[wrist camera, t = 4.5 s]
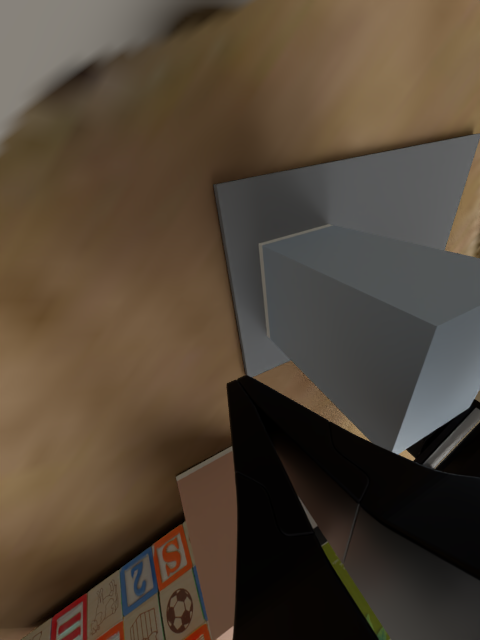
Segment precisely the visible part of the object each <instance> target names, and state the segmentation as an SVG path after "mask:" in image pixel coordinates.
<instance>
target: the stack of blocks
mask: <svg viewBox="0 0 480 640" xmlns="http://www.w3.org/2000/svg"><path fill="white" fill-rule="evenodd" d="M21 640H212V636H211V632H210V627H209V623H208V618H207V614H206V609H205V605H204V600H203V596H202V591H201V587H200V582H199V578H198V574H197V569H196V565H195V560H194V556H193V551H192V547H191V542H190V538H189V533H188V529H187V524H186V521H184V523H183V524H180V525H179V526H177V527H176V528H175V529H173V530H172V531H170V532H169V533H168V534H166V535H165V536H163V537H162V538H161V539H159V540H158V541H157V542H155V543H154V544H153V545H152V546H151V547H149V548H148V549H146V550H145V551H143V552H142V553H141V554H139V555H138V556H137V557H135V558H134V559H132V560H131V561H130V562H128V563H127V564H126V565H124V566H123V567H122V568H121V569H119V570H118V571H116V572H115V573H113V574H112V575H110V576H109V577H108V578H106V579H105V580H104V581H102V582H101V583H99V584H98V585H97V586H95V587H94V588H93V589H91V590H90V591H89V592H88V593H86V594H84V595H83V596H81V597H80V598H78V599H77V600H75V601H74V602H73V603H71V604H70V605H68V606H67V607H66V608H64V609H63V610H61V611H60V612H59V613H57V614H56V615H55V616H54V617H53V618H50V619H49V620H48V621H46V622H45V623H43V624H42V625H41V626H39V627H38V628H36V629H35V630H34V631H32V632H31V633H29V634H28V635H27V636H25V637H24V638H23V639H21Z"/></svg>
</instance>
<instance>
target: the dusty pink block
mask: <svg viewBox="0 0 480 640" xmlns="http://www.w3.org/2000/svg"><path fill="white" fill-rule="evenodd" d="M176 480H177V484H178V489H179V493H180V498H181V502H182V506H183V511H184V515H185V520H186V524H187V529H188V533H189V538H190V542H191V547H192V551H193V556H194V560H195V565H196V569H197V574H198V578H199V582H200V587H201V591H202V596H203V600H204V605H205V609H206V614H207V618H208V623H209V627H210V632H211V636H212V640H233V628H234V614H235V591H236V552H237V498H236V484H235V471H234V461H233V450H232V446H231V447H229V448H227V449H226V450H224V451H222V452H220V453H218V454H217V455H215V456H213V457H211V458H209V459H207V460H206V461H204V462H202V463H200V464H198V465H197V466H195V467H193V468H191V469H189V470H187V471H186V472H184V473H182V474H180V475H178V476H176Z"/></svg>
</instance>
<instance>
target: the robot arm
mask: <svg viewBox="0 0 480 640" xmlns="http://www.w3.org/2000/svg"><path fill="white" fill-rule="evenodd" d="M227 397H228V407H229V418H230V429H231V439H232V450H233V461H234V471H235V484H236V498H237V552H236V591H235V614H234V628H233V640H379V638H378V637H377V635H376V634H375V632H374V631H373V629H372V627H371V626H370V624H369V623H368V621H367V620H366V618H365V617H364V615H363V613H362V612H361V610H360V609H359V607H358V606H357V604H356V602H355V601H354V599H353V598H352V596H351V595H350V593H349V592H348V590H347V588H346V587H345V585H344V584H343V582H342V581H341V579H340V577H339V576H338V574H337V573H336V571H335V570H334V568H333V566H332V565H331V563H330V561H329V560H328V558H327V556H326V554H325V552H324V550H323V548H322V546H321V544H320V542H319V540H318V538H317V536H316V535H315V532H314V530H313V527H312V525H311V523H310V521H309V519H308V517H307V515H306V513H305V511H304V508H303V506H302V504H301V502H300V500H299V498H300V499H301V501H302V502H303V504H304V505H305V507H306V508H307V510H308V512H309V513H310V515H311V516H312V518H313V519H314V521H315V522H316V524H317V525H318V527H319V529H320V530H321V532H322V533H323V535H324V536H325V538H326V539H327V541H328V542H329V544H330V546H331V547H332V549H333V550H334V552H335V553H336V555H337V556H338V558H339V559H340V561H341V563H342V564H344V567H345V569H346V570H347V572H348V574H349V575H350V577H351V578H352V580H353V581H354V583H355V584H356V586H357V587H358V589H359V591H360V592H361V594H362V595H363V597H364V598H365V600H366V601H367V603H368V604H369V606H370V608H371V609H372V611H373V612H374V614H375V615H376V617H377V618H378V620H379V621H380V623H381V625H382V626H383V628H384V629H385V631H386V632H387V634H388V635H389V637H390V638H391V640H480V423H479V424H478V425H477V426H476V427H475V428H474V429H473V430H472V431H471V432H470V433H469V434H468V435H467V436H466V437H465V438H464V439H463V440H462V441H461V442H460V443H459V444H458V446H457V447H456V448H455V449H454V450H453V451H452V452H451V453H450V454H449V455H448V456H447V457H446V458H445V459H444V460H443V461H442V462H441V463H440V464H439V465H438V466H437V467H436V469H434V467H435V466H436V465H437V464H438V463H439V462H440V461H441V460H442V459H443V458H444V457H445V455H447V453H448V452H449V451H450V450H451V449H452V448H453V447H454V446H455V445H456V444H457V443H458V442H459V441H460V440H461V439H462V438H463V437H464V436H465V435H466V434H467V432H469V430H470V429H471V428H472V427H473V426H474V425H475V424H476V423H477V422H478V421H479V420H480V402H478V401H477V400H475V399H474V400H473V402H472V404H471V406H470V407H469V408H468V409H467V410H465V411H463V412H462V413H460V414H459V415H457V416H456V417H454V418H453V419H451V420H450V421H448V422H447V423H445V424H444V425H442V426H441V427H439V428H438V429H436V430H434V431H433V432H431V433H430V434H428V435H427V436H425V437H424V438H422V439H421V440H419V441H418V442H416V443H415V444H413V445H412V446H410V447H409V448H407V449H406V450H407V451H408V452H409V453H410V454H411V455H412V456H414V457H415V458H416V459H415V460H414V461H411V460H409V459H407V458H405V457H402V456H400V455H398V454H396V453H393V452H391V451H389V450H387V449H384V448H382V447H380V446H378V445H375V444H373V443H371V442H369V441H367V440H365V439H363V438H360V437H358V436H356V435H354V434H352V433H351V432H349V431H347V430H345V429H343V428H341V427H339V426H338V425H336V424H334V423H332V422H329V421H328V420H327V419H325V418H323V417H321V416H320V415H318V414H316V413H314V412H313V411H311V410H309V409H307V408H305V407H304V406H302V405H300V404H298V403H297V402H295V401H293V400H291V399H289V398H288V397H286V396H284V395H282V394H281V393H279V392H277V391H275V390H273V389H272V388H270V387H268V386H266V385H265V384H263V383H261V382H259V381H257V380H256V379H254V378H252V377H250V376H248V375H245V376H243V377H240V378H238V379H237V380H233V381H231V382H229V383H227ZM296 493H297V494H296ZM297 495H298V496H299V498H298V496H297Z"/></svg>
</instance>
